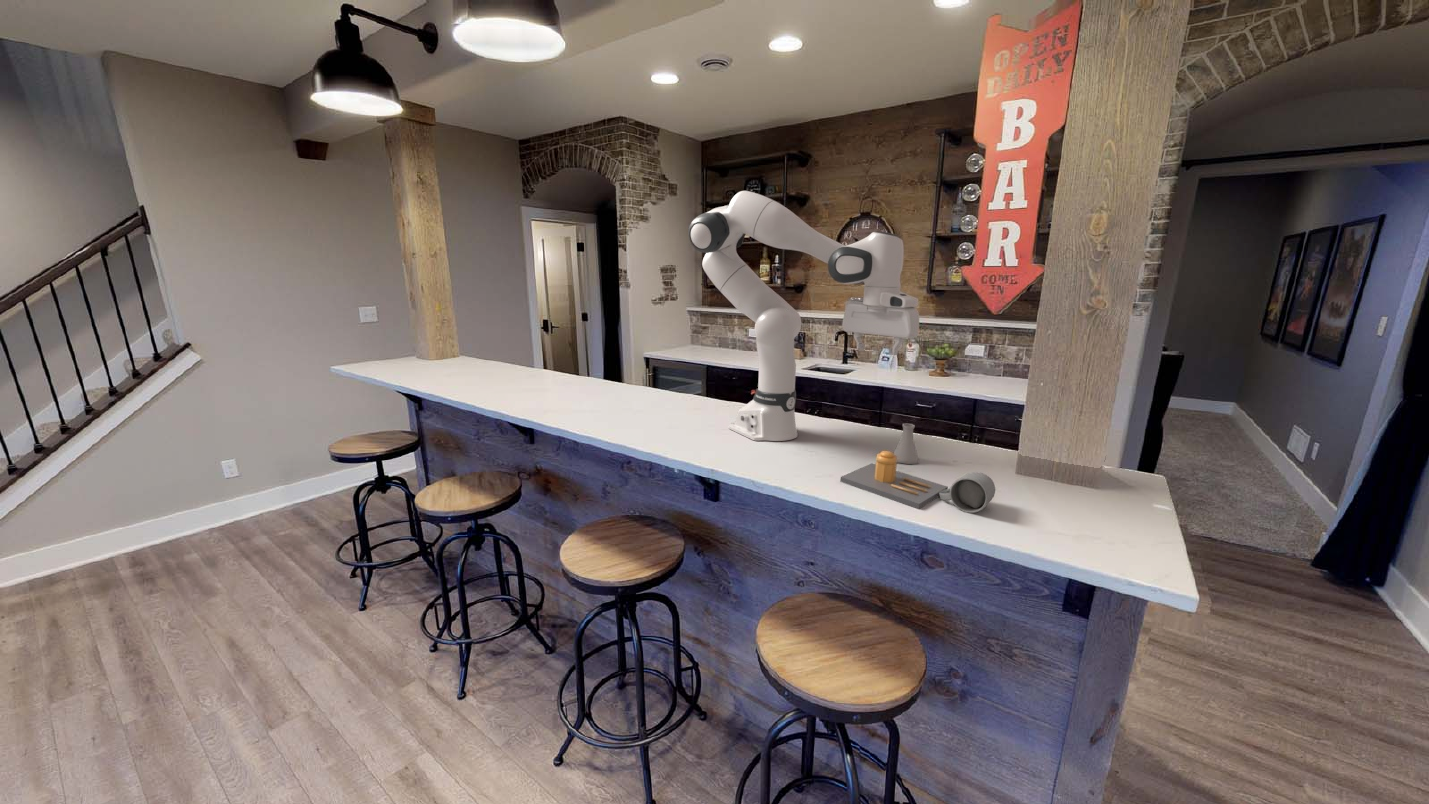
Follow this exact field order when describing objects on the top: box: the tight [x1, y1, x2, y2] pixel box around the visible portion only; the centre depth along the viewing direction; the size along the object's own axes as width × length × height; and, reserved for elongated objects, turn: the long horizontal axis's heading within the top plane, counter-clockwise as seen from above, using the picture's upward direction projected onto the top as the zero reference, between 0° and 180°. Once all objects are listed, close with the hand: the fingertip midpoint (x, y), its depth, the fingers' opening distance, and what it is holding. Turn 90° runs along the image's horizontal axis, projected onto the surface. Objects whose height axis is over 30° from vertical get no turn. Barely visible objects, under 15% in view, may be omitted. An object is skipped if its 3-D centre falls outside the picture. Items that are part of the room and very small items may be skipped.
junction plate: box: [840, 462, 949, 510], centre depth 126 cm, size 20×14×5 cm
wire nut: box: [875, 450, 898, 483], centre depth 127 cm, size 5×5×7 cm
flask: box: [893, 423, 920, 465], centre depth 143 cm, size 7×7×10 cm
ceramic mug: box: [939, 471, 996, 514], centre depth 117 cm, size 11×8×8 cm
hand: (876, 352), depth 139 cm, fingers open, 8 cm apart
